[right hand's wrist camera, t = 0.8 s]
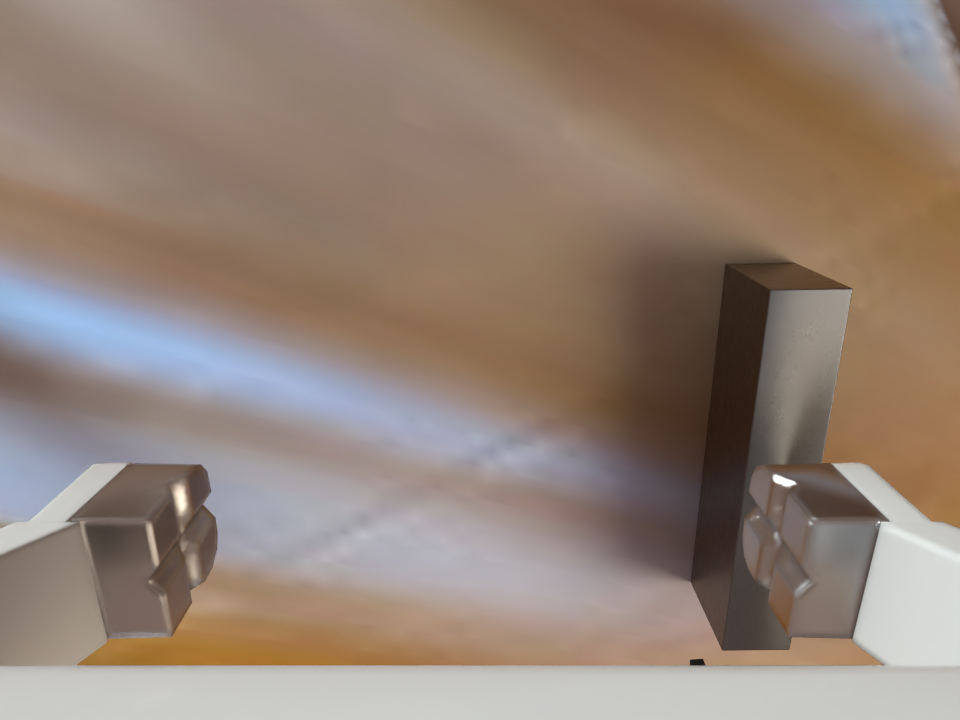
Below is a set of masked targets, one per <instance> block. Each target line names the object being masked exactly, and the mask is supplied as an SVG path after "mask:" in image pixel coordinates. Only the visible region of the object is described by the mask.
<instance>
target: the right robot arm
mask: <svg viewBox="0 0 960 720" xmlns="http://www.w3.org/2000/svg"><path fill="white" fill-rule="evenodd" d="M210 492H211V488H210V483H209V478H208V473H207V471H206V470H205V469H204V467H203V466H202V465H201V464H148V463H135V464H133V463H131V462H130V463H101V464H93V465H92V466H91V467H89V468H88V469H87V470H86V471H85V472H84V473H83V474H82V475H80V476H79V477H78V478H77V479H76V480H75V481H74V482H73V483H71V484H70V485H69V486H68V487H67V488H66V489H65V490H64V491H62V492H61V493H60V494H59V495H58V496H57V497H56V498H55V499H53V500H52V501H51V502H50V503H49V504H48V505H47V506H46V507H44V508H43V509H42V510H41V511H40V512H39V513H38V514H37V515H35V516H34V517H33V518H32V519H31V520H30V521H29V522H15V523H13V524H10V525H8V526H5V527H3V528H0V720H960V528H957V527H955V526H952V525H950V524H947V523H945V522H931V521H930V520H929V519H928V518H927V517H926V516H925V515H924V514H922V513H921V512H920V511H919V510H918V509H917V508H916V507H915V506H913V505H912V504H911V503H910V502H909V501H908V500H907V499H906V498H904V497H903V496H902V495H901V494H900V493H899V492H898V491H897V490H895V489H894V488H893V487H892V486H891V485H890V484H889V483H888V482H887V481H885V480H884V479H883V478H882V477H881V476H880V475H879V474H878V473H876V472H875V471H874V470H873V469H872V468H871V467H870V466H869V465H866V464H863V463H859V462H855V463H833V464H831V463H814V464H772V465H760V466H756V468H755V470H754V472H753V474H752V476H751V482H750V488H749V492H750V494H751V496H752V497H753V499H754V500H755V502H756V503H757V505H756V506H755V507H754V508H753V509H752V510H751V512H750V513H749V514H748V515H747V516H746V517H745V519H744V527H743V536H742V540H743V549H744V557H745V560H746V563H747V566H748V569H749V571H750V573H751V575H752V576H753V578H754V580H755V581H756V582H757V583H759V584H761V585H762V586H764V587H765V588H767V589H769V590H770V593H769V599H768V604H769V605H770V607H771V609H772V610H773V612H774V614H775V615H776V617H777V619H778V620H779V622H780V624H781V625H782V627H783V629H784V630H785V632H786V634H787V635H788V637H809V638H846V639H852V642H854V643H855V644H856V645H858V646H859V647H860V648H862V649H863V650H864V651H866V652H867V653H868V654H870V655H871V656H872V657H874V658H875V659H876V660H878V661H879V662H880V663H882V664H883V665H758V666H76V665H77V664H78V663H80V662H81V661H82V660H84V659H85V658H87V657H88V656H89V655H91V654H92V653H93V652H95V651H96V650H97V649H99V648H100V647H101V646H103V645H104V644H105V643H107V642H108V640H107V639H114V638H149V637H172V635H173V634H174V632H175V630H176V629H177V627H178V625H179V624H180V622H181V620H182V619H183V617H184V615H185V614H186V612H187V610H188V609H189V607H190V605H191V604H192V599H191V593H190V590H191V589H193V588H195V587H196V586H198V585H199V584H201V583H203V582H204V581H205V580H206V578H207V576H208V574H209V573H210V571H211V569H212V567H213V563H214V559H215V555H216V551H217V526H216V519H215V517H214V516H213V515H212V514H211V513H210V512H209V510H208V509H207V508H206V507H205V506H204V505H203V503H204V502H205V500H206V499H207V497H208V496H209V494H210Z"/></svg>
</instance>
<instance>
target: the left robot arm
mask: <svg viewBox="0 0 960 720" xmlns="http://www.w3.org/2000/svg"><path fill="white" fill-rule="evenodd" d="M690 666H705V663H704V661H703V659H695V660H690Z"/></svg>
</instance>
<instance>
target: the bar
mask: <svg viewBox="0 0 960 720" xmlns="http://www.w3.org/2000/svg"><path fill="white" fill-rule="evenodd" d="M851 295H852V288H850V287H848V286H845V285H843V284H841V283H839V282H836V281H834V280H832V279H830V278H827V277H825V276H823V275H821V274H818V273H816V272H814V271H812V270H809V269H807V268H805V267H803V266H800V265H798V264H796V263H765V264H726V266H725V275H724V284H723V293H722V302H721V312H720V321H719V330H718V339H717V348H716V357H715V367H714V376H713V385H712V394H711V403H710V412H709V422H708V431H707V440H706V449H705V458H704V467H703V477H702V486H701V495H700V504H699V513H698V522H697V532H696V541H695V550H694V559H693V568H692V577H691V584H692V586H693V588H694V590H695V592H696V594H697V597H698V599H699V601H700V603H701V605H702V607H703V610H704V612H705V614H706V616H707V618H708V620H709V623H710V625H711V627H712V629H713V631H714V633H715V636H716V638H717V640H718V642H719V644H720V647H721V649H722V650H789V648H790V643H791V637H788V635H787V634H786V632H785V630H784V629H783V627H782V625H781V624H780V622H779V620H778V619H777V617H776V615H775V614H774V612H773V610H772V609H771V607H770V605H769V604H768V599H769V593H770V590H769V589H767V588H765V587H764V586H762V585H761V584H759V583H757V582H756V581H755V580H754V578H753V576H752V575H751V573H750V571H749V569H748V566H747V563H746V560H745V557H744V549H743V540H742V536H743V527H744V519H745V517H746V516H747V515H748V514H749V513H750V512H751V510H752V509H753V508H754V507H755V506H756V505H757V503H756V502H755V500H754V499H753V497H752V496H751V494H750V492H749V488H750V482H751V476H752V474H753V472H754V470H755V468H756V466H760V465H772V464H814V463H822V460H823V455H824V449H825V443H826V438H827V432H828V426H829V421H830V415H831V409H832V403H833V398H834V392H835V386H836V381H837V375H838V369H839V364H840V358H841V352H842V346H843V341H844V335H845V329H846V324H847V318H848V312H849V307H850V301H851Z"/></svg>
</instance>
